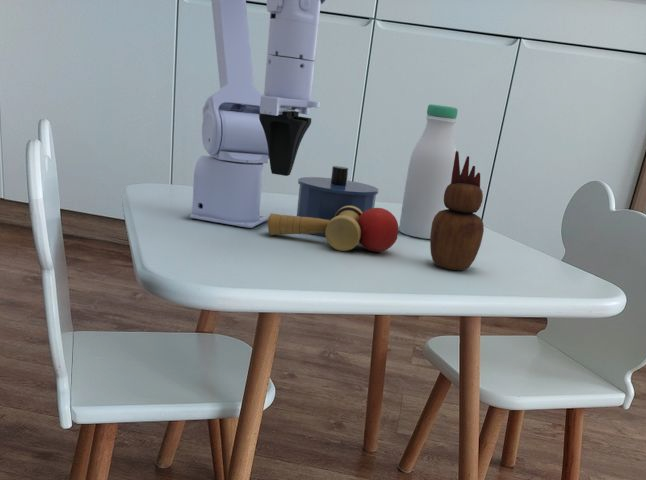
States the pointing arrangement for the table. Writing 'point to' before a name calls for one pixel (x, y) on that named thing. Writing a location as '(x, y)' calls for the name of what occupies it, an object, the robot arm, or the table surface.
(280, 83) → the robot arm
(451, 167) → the milk bottle
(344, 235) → the kendama
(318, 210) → the pot
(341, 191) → the pot lid
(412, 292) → the table surface
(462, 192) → the wooden figurine
